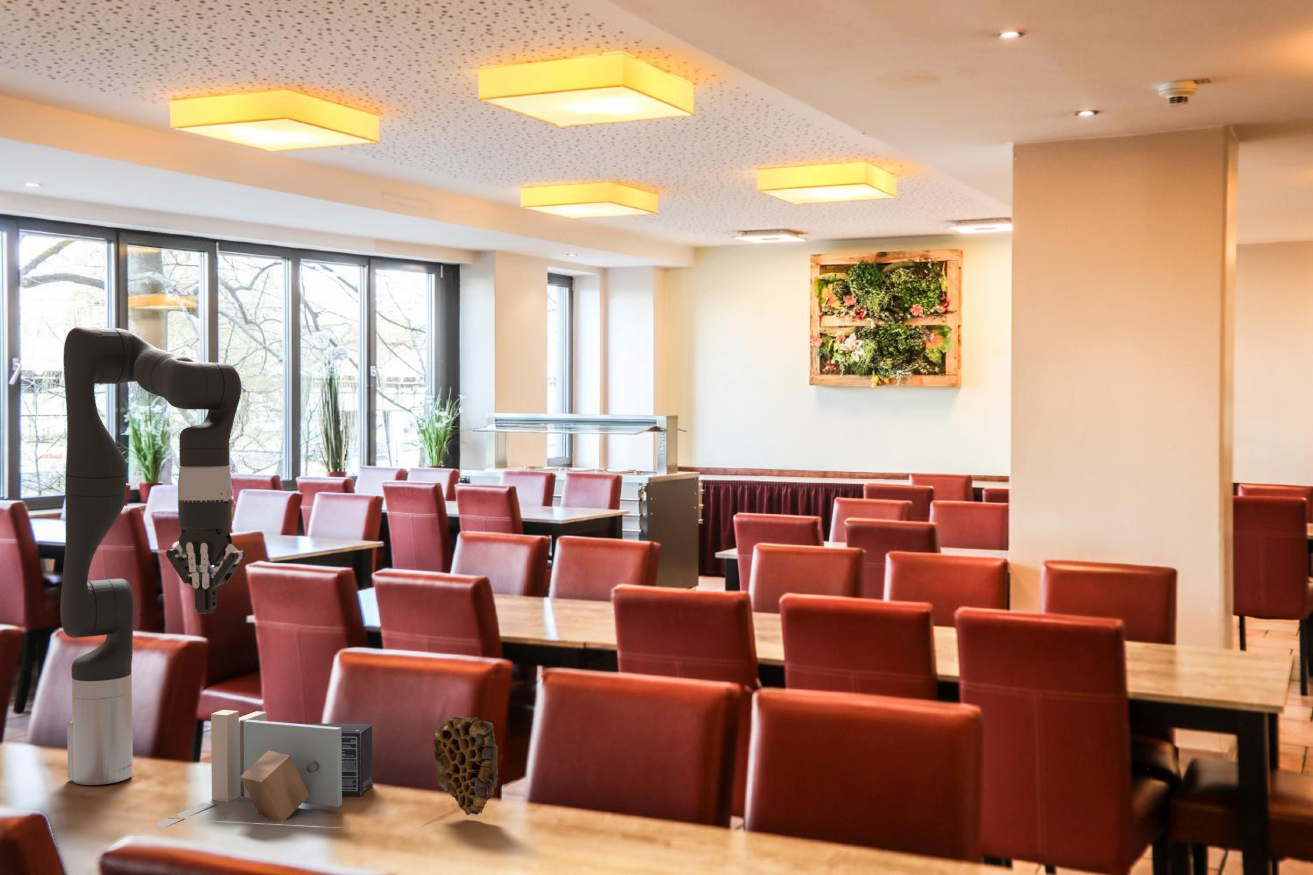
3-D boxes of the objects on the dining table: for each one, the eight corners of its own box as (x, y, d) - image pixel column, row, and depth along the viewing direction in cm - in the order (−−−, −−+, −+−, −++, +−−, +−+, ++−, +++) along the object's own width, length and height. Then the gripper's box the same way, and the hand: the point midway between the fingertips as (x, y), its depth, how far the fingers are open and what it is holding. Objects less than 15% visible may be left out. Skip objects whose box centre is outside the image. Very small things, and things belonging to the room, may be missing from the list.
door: (332, 809, 195) (332, 731, 194) (233, 798, 200) (232, 722, 200) (342, 804, 197) (341, 727, 197) (243, 793, 203) (242, 719, 202)
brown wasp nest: (425, 815, 195) (425, 718, 194) (437, 807, 199) (437, 711, 198) (495, 821, 192) (494, 722, 191) (505, 813, 196) (505, 716, 195)
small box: (374, 785, 211) (374, 722, 211) (361, 797, 204) (361, 732, 204) (313, 783, 212) (312, 721, 212) (298, 795, 205) (297, 730, 205)
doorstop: (239, 776, 191) (268, 750, 195) (260, 816, 194) (288, 790, 199) (261, 781, 188) (290, 755, 193) (282, 822, 192) (309, 795, 196)
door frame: (114, 845, 182) (113, 747, 181) (254, 782, 213) (253, 698, 212) (131, 847, 181) (130, 749, 181) (269, 783, 212) (269, 700, 211)
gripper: (150, 497, 187) (152, 614, 188) (226, 499, 183) (227, 619, 184) (184, 494, 195) (186, 607, 195) (258, 495, 190) (259, 611, 191)
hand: (206, 612), depth 189 cm, fingers closed
